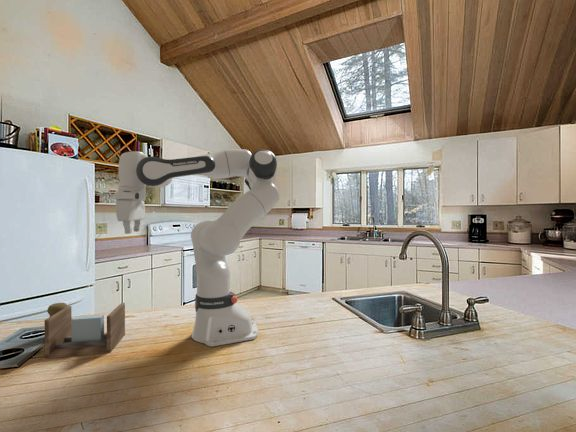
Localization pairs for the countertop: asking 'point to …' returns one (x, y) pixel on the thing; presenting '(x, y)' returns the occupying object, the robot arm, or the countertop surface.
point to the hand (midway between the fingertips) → (132, 232)
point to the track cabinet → (62, 345)
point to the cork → (56, 308)
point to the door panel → (87, 328)
